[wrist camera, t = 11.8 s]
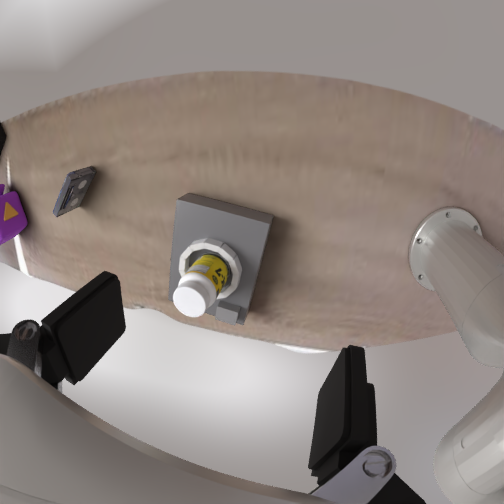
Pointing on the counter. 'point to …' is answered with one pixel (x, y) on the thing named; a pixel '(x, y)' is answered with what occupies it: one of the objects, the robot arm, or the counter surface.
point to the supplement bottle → (201, 284)
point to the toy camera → (10, 215)
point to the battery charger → (2, 138)
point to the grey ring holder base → (220, 249)
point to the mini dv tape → (73, 190)
